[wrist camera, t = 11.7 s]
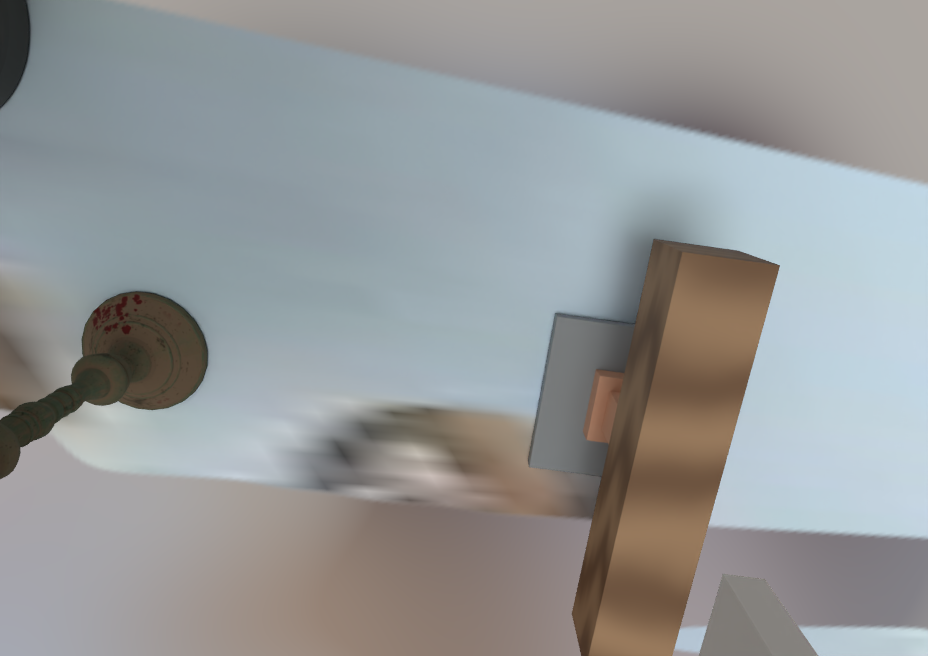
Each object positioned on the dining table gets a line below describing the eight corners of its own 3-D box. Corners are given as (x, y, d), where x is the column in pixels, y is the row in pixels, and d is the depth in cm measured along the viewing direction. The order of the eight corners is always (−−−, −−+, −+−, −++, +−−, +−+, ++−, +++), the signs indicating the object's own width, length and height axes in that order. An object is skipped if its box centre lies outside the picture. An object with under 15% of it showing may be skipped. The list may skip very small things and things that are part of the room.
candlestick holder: (180, 276, 45) (-342, 495, 16) (226, 390, 47) (-155, 761, 18) (64, 309, 46) (-634, 576, 17) (116, 420, 48) (-418, 823, 19)
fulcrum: (527, 460, 49) (539, 518, 41) (555, 313, 45) (573, 345, 38) (678, 480, 49) (717, 541, 41) (716, 335, 46) (766, 372, 38)
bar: (643, 622, 43) (665, 681, 38) (571, 613, 43) (584, 671, 38) (738, 250, 36) (779, 265, 31) (653, 239, 36) (682, 252, 31)
